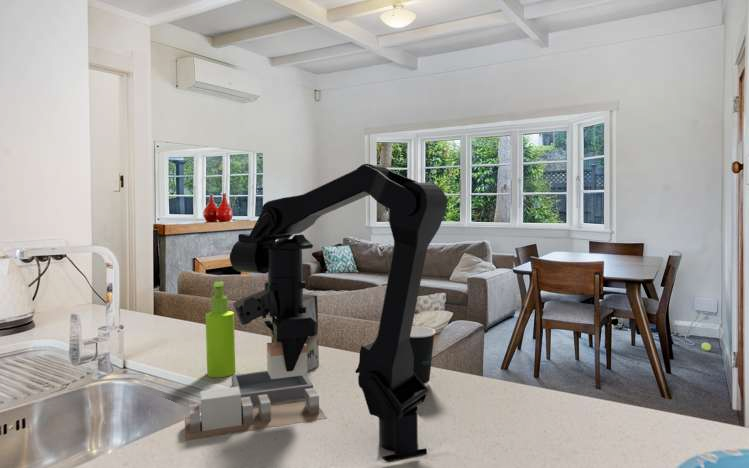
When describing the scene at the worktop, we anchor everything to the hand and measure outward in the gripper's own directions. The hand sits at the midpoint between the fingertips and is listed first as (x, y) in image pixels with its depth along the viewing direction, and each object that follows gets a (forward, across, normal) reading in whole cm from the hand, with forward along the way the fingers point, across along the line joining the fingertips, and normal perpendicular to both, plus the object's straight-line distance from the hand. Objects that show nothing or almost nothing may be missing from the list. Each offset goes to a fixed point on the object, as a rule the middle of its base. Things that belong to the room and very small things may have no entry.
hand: (287, 367), depth 88 cm
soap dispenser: (+9, -29, -9) cm, 32 cm away
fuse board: (+9, 0, -5) cm, 10 cm away
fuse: (+8, 0, -11) cm, 13 cm away
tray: (+9, -12, -1) cm, 15 cm away
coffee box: (+9, -28, +7) cm, 30 cm away
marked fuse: (+1, 0, 0) cm, 1 cm away
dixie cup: (+9, -7, +27) cm, 29 cm away
